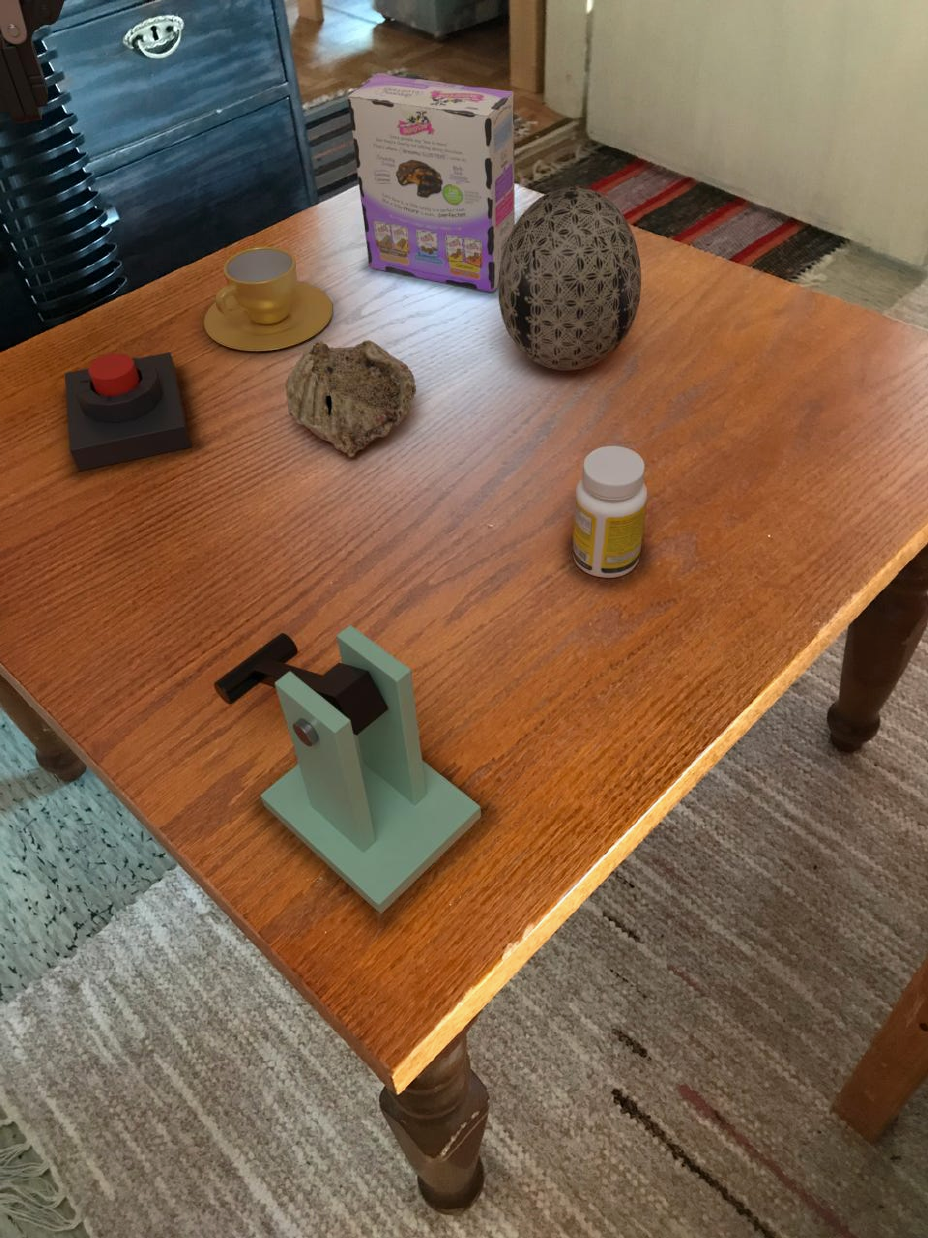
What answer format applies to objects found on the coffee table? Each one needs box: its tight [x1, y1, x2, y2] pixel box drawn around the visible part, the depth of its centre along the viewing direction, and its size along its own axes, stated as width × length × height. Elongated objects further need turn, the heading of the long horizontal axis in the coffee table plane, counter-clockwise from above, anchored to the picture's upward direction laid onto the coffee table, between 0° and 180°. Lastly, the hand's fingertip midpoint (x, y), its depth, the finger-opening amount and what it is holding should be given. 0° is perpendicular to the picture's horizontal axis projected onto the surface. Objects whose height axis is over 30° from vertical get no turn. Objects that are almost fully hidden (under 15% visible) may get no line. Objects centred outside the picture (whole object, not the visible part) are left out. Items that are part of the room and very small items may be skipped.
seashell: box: [285, 339, 417, 458], centre depth 79 cm, size 11×7×10 cm
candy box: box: [347, 72, 516, 293], centre depth 91 cm, size 14×6×16 cm, turn 65°
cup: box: [203, 246, 334, 352], centre depth 90 cm, size 12×12×5 cm
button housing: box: [64, 351, 192, 472], centre depth 81 cm, size 11×9×4 cm
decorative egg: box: [497, 186, 642, 371], centre depth 80 cm, size 12×12×15 cm
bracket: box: [259, 624, 482, 915], centre depth 52 cm, size 10×8×13 cm
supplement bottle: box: [572, 445, 648, 579], centre depth 67 cm, size 5×5×8 cm
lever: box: [213, 632, 389, 736], centre depth 52 cm, size 12×5×2 cm, turn 47°
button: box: [87, 352, 139, 396], centre depth 79 cm, size 4×4×2 cm
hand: (28, 115), depth 53 cm, fingers closed
